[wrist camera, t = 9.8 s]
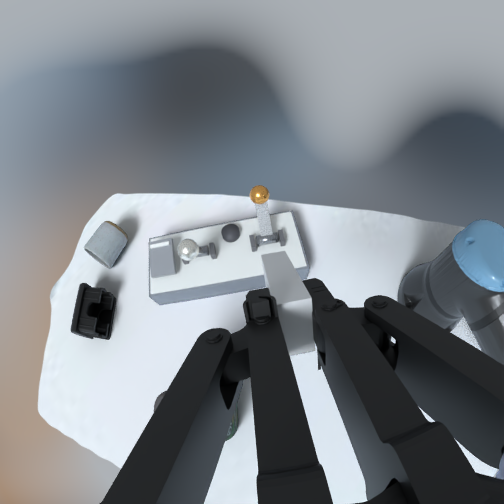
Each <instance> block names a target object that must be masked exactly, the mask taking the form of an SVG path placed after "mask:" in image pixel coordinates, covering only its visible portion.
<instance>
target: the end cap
mask: <svg viewBox="0 0 504 504" xmlns="http://www.w3.org/2000/svg"><path fill="white" fill-rule="evenodd" d="M115 305H116V298H115V297H113V295H112V294H111V293H110V292H106V290H105V289H104V288H93V287H91V286H89V285H88V284H86V283H82V284H80V286H79V290H78V295H77V299H76V304H75V309H74V314H73V319H72V325H71V332H72V333H74V334H76V335H79V336H83V337H86V338H91V339H93V337H95V338H101V339H106V340H109V339H110V336H111V329H112V323H113V317H114V311H115Z"/></svg>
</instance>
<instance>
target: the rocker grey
mask: <svg viewBox="0 0 504 504" xmlns="http://www.w3.org/2000/svg"><path fill="white" fill-rule="evenodd" d="M149 257H150V269H151V278H159V277H164V276H170V275H175V274H177V273H176V265H175V255H174V245H173V239H172V238H167V239H162V240H157V241H153V242H149Z"/></svg>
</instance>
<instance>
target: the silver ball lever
mask: <svg viewBox="0 0 504 504" xmlns="http://www.w3.org/2000/svg"><path fill="white" fill-rule="evenodd" d="M177 252H178V255H179V256H180V258H182V259H183V260H186V261H190V260H193V259H195V258H198V257H203V256H209V255H210V253H209V248H208V245H205V246H200V247H199V246H198V244H197V242H196V241H194V240H193V239H189V238H187V239H184V240H182V241H181V242H180V243H179V244H178V247H177Z"/></svg>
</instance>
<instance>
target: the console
mask: <svg viewBox="0 0 504 504" xmlns="http://www.w3.org/2000/svg"><path fill="white" fill-rule="evenodd" d="M269 216H270V221H271V227H272V233H274V232H277V234H278V239H279V242H278V243H272V244H267V245H262V246H258V245H257V241H256V236H257V235H260V230H259V225H258V219H257V217H253V218H248V219H243V220H237V221H232V222H227V223H222V224H217V225H212V226H207V227H202V228H197V229H192V230H187V231H182V232H177V233H173V234H168V235H163V236H159V237H154V238H150V239H149V242H153V241H157V240H162V239H167V238H172V239H173V245H174V255H175V265H176V273H177V274H175V275H170V276H164V277H159V278H151V269H150V257H149V297H150V298H151V299H153V300H154V301H155V302H156V303H158V304H159V305H164V304H171V303H177V302H184V301H190V300H196V299H202V298H208V297H214V296H220V295H225V294H231V293H236V292H242V291H247V290H253V289H258V288H263V287H266V283H265V277H264V271H263V265H262V259H261V255H263V254H268V253H274V252H280V251H285V252H286V254H287V255H288V257H289V259H290V261H291V262H292V264H293V266H294V268H295V269H296V271H297V273H298V275H299V276H300V278H301V280H304V279H307V275H308V271H309V265H308V261H307V258H306V254H305V251H304V247H303V244H302V240H301V237H300V234H299V230H298V227H297V224H296V220H295V217H294V214H293V211H287V212H281V213H276V214H270V215H269ZM187 238H189V239H193V240H194V241H196V242H197V244H198V246H199V247H200V246H205V245H208V248H209V253H210V255H209V256H203V257H198V258H195V259H193V260H190V261H186V260H183V259H182V258H180V256H179V255H178V252H177V247H178V244H179V243H180V242H181V241H182V240H184V239H187Z"/></svg>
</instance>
